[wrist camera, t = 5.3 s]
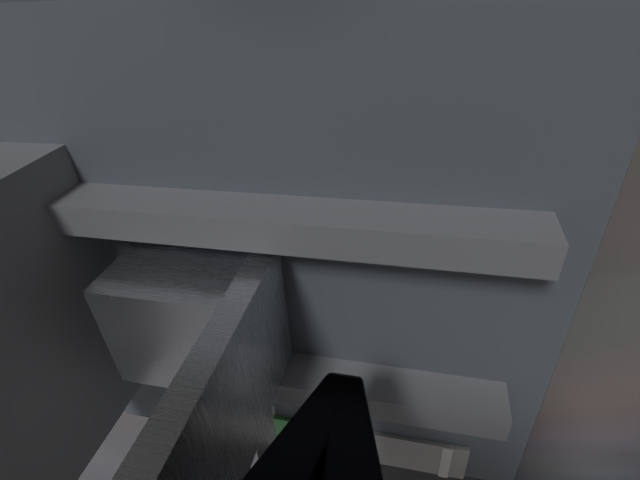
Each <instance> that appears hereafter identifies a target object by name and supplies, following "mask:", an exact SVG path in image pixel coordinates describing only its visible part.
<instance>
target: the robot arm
mask: <svg viewBox="0 0 640 480" xmlns="http://www.w3.org/2000/svg"><path fill="white" fill-rule="evenodd" d="M242 480H383V475H382V470H381V465H380V460H379V455H378V450H377V445H376V441H375V436H374V431H373V426H372V421H371V416H370V411H369V406H368V402H367V397H366V392H365V387H364V382H363V379H362V378H361V377H360V376H353V375H347V374H340V373H334V372H330V373H328V374H327V375H326V376H325V377H324V379H323V380H322V381H321V382H320V383H319V385H318V386H317V387H316V388H315V390H314V391H313V392H312V393H311V395H310V396H309V397H308V398H307V400H306V401H305V402H304V403H303V404H302V406H301V407H300V408H299V409H298V411H297V412H296V413H295V414H294V416H293V417H292V418H291V419H290V421H289V422H288V423H287V424H286V425H285V427H284V428H283V429H282V430H281V432H280V433H279V434H278V435H277V437H276V438H275V439H274V440H273V442H272V443H271V444H270V445H269V446H268V448H267V449H266V450H265V451H264V453H263V454H262V455H261V456H260V458H259V459H258V460H257V461H256V463H255V464H254V465H253V466H252V467H251V469H250V470H249V471H248V472H247V474H246V475H245V476H244V477H243V479H242Z"/></svg>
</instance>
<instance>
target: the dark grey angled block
mask: <svg viewBox="0 0 640 480" xmlns="http://www.w3.org/2000/svg"><path fill="white" fill-rule="evenodd" d="M83 294H84V297H85V299H86V301H87V303H88V305H89V308H90V310H91V312H92V314H93V316H94V319H95V321H96V323H97V325H98V327H99V329H100V332H101V334H102V336H103V338H104V340H105V343H106V345H107V347H108V349H109V351H110V354H111V356H112V358H113V360H114V362H115V365H116V367H117V369H118V371H119V373H120V376H121V378H122V380H123V381H129V382H135V383H141V384H147V385H153V386H159V387H165V388H167V390H166V391H165V393H164V394H163V396H162V398H161V399H160V401H159V403H158V404H157V406H156V408H155V409H154V411H153V413H152V414H151V416H150V417H149V419H148V421H147V422H146V424H145V426H144V427H143V429H142V431H141V432H140V434H139V436H138V437H137V439H136V440H135V442H134V444H133V445H132V447H131V449H130V450H129V452H128V454H127V455H126V457H125V458H124V460H123V462H122V463H121V465H120V467H119V468H118V470H117V472H116V473H115V475H114V477H113V478H112V480H242V479H243V477H244V476H245V475H246V474H247V472H248V471H249V470H250V469H251V467H252V466H253V465H254V464H255V463H256V461H257V460H258V459H259V458H260V456H261V455H262V454H263V453H264V451H265V450H266V449H267V448H268V446H269V445H270V444H271V443H272V442H273V440H274V439H275V438H276V431H275V426H274V420H273V415H272V406H273V404H274V401H275V398H276V395H277V392H278V390H279V387H280V384H281V381H282V378H283V376H284V373H285V370H286V367H287V365H288V362H289V359H290V356H291V353H292V345H291V336H290V328H289V320H288V312H287V304H286V296H285V288H284V279H283V271H282V263H281V255H272V254H261V253H251V252H250V253H243V252H232V251H221V250H210V249H200V248H189V247H178V246H167V245H157V244H146V243H135V242H133V243H132V244H131V245H130V246H129V247H128V248H127V249H126V250H125V251H124V252H123V253H122V254H121V255H120V256H119V257H118V258H117V259H116V260H115V261H114V262H113V263H112V264H111V265H110V266H108V267H107V268H106V269H105V270H104V271H103V272H102V273H101V274H100V275H99V276H98V277H97V278H96V279H95V280H94V281H93V282H92V283H91V284H90V285H89V286H88V287H87V288H86V289H85V290H84V291H83Z"/></svg>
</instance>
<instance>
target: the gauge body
mask: <svg viewBox="0 0 640 480" xmlns="http://www.w3.org/2000/svg"><path fill="white" fill-rule="evenodd" d="M639 137H640V0H0V480H78V478H79V477H80V475H81V474H82V472H83V471H84V469H85V468H86V466H87V465H88V463H89V462H90V461H91V459H92V458H93V456H94V455H95V453H96V452H97V450H98V449H99V447H100V446H101V444H102V443H103V441H104V440H105V438H106V437H107V435H108V434H109V432H110V431H111V429H112V428H113V426H114V425H115V423H116V422H117V420H118V419H119V417H120V416H121V414H122V413H123V411H124V410H125V411H126V413H128V414H134V415H139V416H145V417H150V416H151V414H152V413H153V411H154V409H155V408H156V406H157V404H158V403H159V401H160V399H161V398H162V396H163V394H164V393H165V391H166V390H167V388H165V387H159V386H153V385H147V384H141V383H135V382H129V381H123V380H122V378H121V376H120V373H119V371H118V369H117V367H116V365H115V362H114V360H113V358H112V356H111V354H110V351H109V349H108V347H107V345H106V343H105V340H104V338H103V336H102V334H101V332H100V329H99V327H98V325H97V323H96V321H95V319H94V316H93V314H92V312H91V310H90V308H89V305H88V303H87V301H86V299H85V297H84V294H83V291H84V290H85V289H86V288H87V287H88V286H89V285H90V284H91V283H92V282H93V281H94V280H95V279H96V278H97V277H98V276H99V275H100V274H101V273H102V272H103V271H104V270H105V269H106V268H107V267H108V266H110V265H111V264H112V263H113V262H114V261H115V260H116V259H117V258H118V257H119V256H120V255H121V254H122V253H123V252H124V251H125V250H126V249H127V248H128V247H129V246H130V245H131V244H132V243H133V242H135V243H146V244H157V245H167V246H178V247H189V248H200V249H210V250H221V251H232V252H243V253H250V252H251V253H261V254H272V255H281V263H282V271H283V279H284V288H285V296H286V304H287V312H288V320H289V328H290V336H291V345H292V353H291V356H290V359H289V362H288V365H287V367H286V370H285V373H284V376H283V378H282V381H281V384H280V387H279V390H278V392H277V395H276V398H275V401H274V409H275V414H274V417H273V420H274V426H275V431H276V437H277V435H278V434H279V433H280V432H281V430H282V429H283V428H284V427H285V425H286V424H287V423H288V422H289V421H290V419H291V418H292V417H293V416H294V414H295V413H296V412H297V411H298V409H299V408H300V407H301V406H302V404H303V403H304V402H305V401H306V400H307V398H308V397H309V396H310V395H311V393H312V392H313V391H314V390H315V388H316V387H317V386H318V385H319V383H320V382H321V381H322V380H323V379H324V377H325V376H326V375H327V374H328V373H330V372H334V373H340V374H347V375H353V376H360V377H361V378H362V379H363V382H364V387H365V392H366V397H367V402H368V406H369V411H370V416H371V421H372V426H373V431H374V436H375V441H376V445H377V450H378V455H379V460H380V464H383V465H389V466H394V467H399V468H405V469H410V470H415V471H421V472H426V473H431V474H437V475H438V477H443V478H448V477H453V478H458V479H463V478H464V476H466V477H472V478H477V479H483V480H514V478H515V475H516V473H517V470H518V467H519V464H520V462H521V459H522V456H523V454H524V451H525V448H526V445H527V443H528V440H529V437H530V434H531V432H532V429H533V426H534V424H535V421H536V418H537V415H538V413H539V410H540V407H541V404H542V402H543V399H544V396H545V394H546V391H547V388H548V385H549V383H550V380H551V377H552V374H553V372H554V369H555V366H556V364H557V361H558V358H559V355H560V353H561V350H562V347H563V344H564V342H565V339H566V336H567V333H568V331H569V328H570V325H571V323H572V320H573V317H574V314H575V312H576V309H577V306H578V303H579V301H580V298H581V295H582V293H583V290H584V287H585V284H586V282H587V279H588V276H589V273H590V271H591V268H592V265H593V263H594V260H595V257H596V254H597V252H598V249H599V246H600V243H601V241H602V238H603V235H604V233H605V230H606V227H607V224H608V222H609V219H610V216H611V213H612V211H613V208H614V205H615V203H616V200H617V197H618V194H619V192H620V189H621V186H622V183H623V181H624V178H625V175H626V173H627V170H628V167H629V164H630V162H631V159H632V156H633V153H634V151H635V148H636V145H637V142H638V140H639Z"/></svg>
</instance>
